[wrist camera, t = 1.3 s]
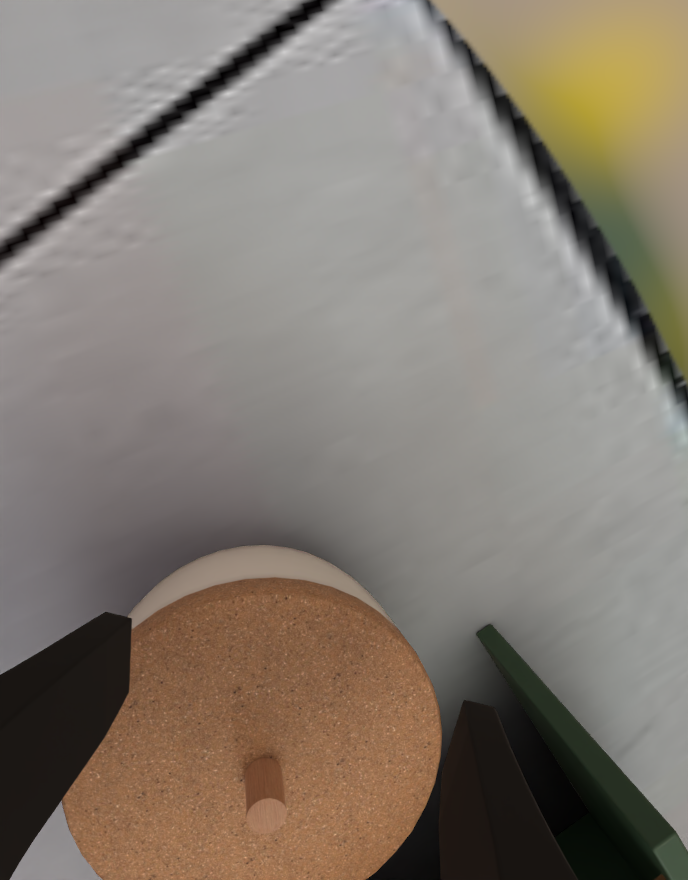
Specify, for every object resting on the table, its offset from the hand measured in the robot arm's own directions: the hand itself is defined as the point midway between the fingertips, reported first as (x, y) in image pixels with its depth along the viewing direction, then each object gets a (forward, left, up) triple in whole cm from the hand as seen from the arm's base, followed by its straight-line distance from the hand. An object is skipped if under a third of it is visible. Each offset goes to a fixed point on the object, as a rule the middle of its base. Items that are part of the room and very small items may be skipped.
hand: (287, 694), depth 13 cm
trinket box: (+4, -3, -12) cm, 12 cm away
